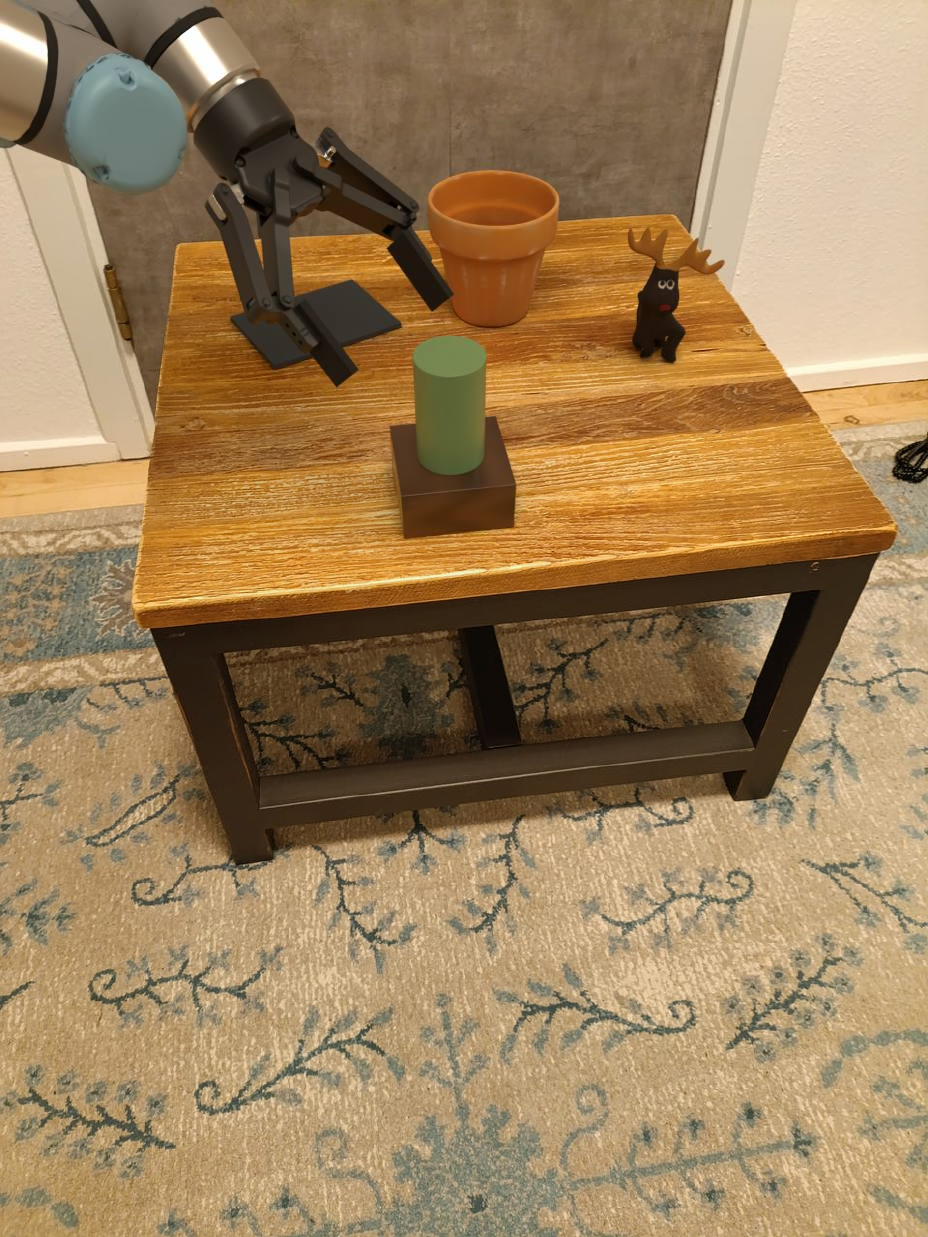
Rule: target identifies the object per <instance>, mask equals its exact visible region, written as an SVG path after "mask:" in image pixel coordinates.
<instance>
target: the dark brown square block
mask: <svg viewBox="0 0 928 1237" xmlns="http://www.w3.org/2000/svg"><path fill="white" fill-rule="evenodd" d="M389 439H390V452H391V453H390V454H391V464H392V465H391V466H392V474H393V479H394V486H395V491H396V497H397V504H398V511H399V517H400V522H401V528H402V535H403V539H414V538H422V537H423V538H424V537H431V536H433V537H434V536H440V535H441V536H443V535H450V534H451V535H452V534H460V533H471V532H480V531H488V530H496V529H497V530H498V529H508V528H514V527H515V515H516V498H517V482H516V479H515V476H514V472H513V468H512V466H511V462H510V459H509V455H508V452H507V449H506V445H505V441H504V438H503V435H502V431H501V429H500V425H499V421H498V418H497V416H496V415H491V416H485V448H484V458H483V461H482V462H481V464H480V465H479V466H478V467H477V468H475V469H474V470H472V471H470V472H467V473H464V474H460V475H441V474H437V473H434V472H431V471H429V470H427V469H426V468H425V467H423V466H422V465H421V463H420V462H419V460H418V457H417V442H416V423H406V424H396V425H389Z"/></svg>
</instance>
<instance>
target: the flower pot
mask: <svg viewBox="0 0 928 1237" xmlns="http://www.w3.org/2000/svg"><path fill="white" fill-rule="evenodd" d="M560 202H561V200H560V197H559V193H558V192H557V190H556V189H555V188H554V187H553V186H552V185H551V184H549V183H548V182H546V181H545V180H543V179H542V178H541V179H540V178H538V177H535V176H533V175H529V174H526V173H521V172H516V171H509V170H497V169H495V170H494V169H493V170H492V169H491V170H490V169H489V170H488V169H487V170H475V171H467V172H463V173H462V172H461V173H459V174H455V175H452V176H449V177H447V178H444V179H442V180H441V181H439V182H438V183H436V184H435V185H434V186H433V187H431V189H430V191H429V193H428V195H427V218H428V219H427V220H428V230H429V234H430V237H431V239H432V241H433V242H434V243H435V244H436V245H437V246H438V248H439V252H440V256H441V260H442V265H443V270H444V273H445V277H446V281H447V282H446V283H447V285H448V286H449V287H450V289H451V290H452V292H453V293H454V295H453V296H452V297H450V299H451V302H452V307H453V311H454V313H455V314H456V316H457V317H458V318H460V319H461V320H462V321H464V322H466V323H468V324H471V325H474V326H479V327H496V328H497V327H505V326H509V325H512V324H515V323H517V322H519V321H521V320H522V319H523V318H525V317H526V315H527V314H528V312H529V308H530V305H531V302H532V299H533V295H534V291H535V288H536V285H537V281H538V278H539V275H540V274H539V273H540V270H541V267H542V263H543V261H544V260H543V259H544V256H545V252H546V249H547V248H548V247H549V246H550V245H551V244H552V243H553V241H554V240H555V238H556V234H557V230H558V221H559V212H560Z"/></svg>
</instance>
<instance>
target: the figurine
mask: <svg viewBox="0 0 928 1237" xmlns="http://www.w3.org/2000/svg"><path fill="white" fill-rule="evenodd" d="M668 232H669V231H668V229H665V230H663V231H662V232H661V233H660V234H659V235H657V237H656V238H655V239H654V240H652V234H651V233H652V232H651V228H650V227H646V228H645V229H644V231H643V232H642V235H641V237H640V239H639V241H637V242H636V240H635V235H634V231H633V227H629V229H628V232H627V245H628V246H629V248H630V250H631V251H633V252H634V253H637V254H639V255H642V256H646V257H648V258H650V259H652V260H653V261H654V262H655V263H654V265H653V267H652V270H651V273H650V275H649V277H648V279H647V281H646V283H645V284H644V285H643V288H642V290H640V291H638V293H637V300H638V301H637V309H636V314H635V318H636V326H635V330H634V332H633V334H632V338H631V343H632V346H633V347H634V348H635V349H638V350H641V349H642V350H641V352H640V354H639V358H641V359H649V358H651V357H652V356H653V355H654V354H655V351H656V349H661V350H660V356H661V358H662V359H663V360H665V361H667V362H670V363H675V362H676V361H677V356H676V355H677V349H678V348H679V346H680V343H681V342H682V340H683V339H684V338H685V336H686V333H687V332H686V329H685V327H684V326H683V325H682V324H681V323H680V322H679V321H678V320H677V319H676V317H675V316H674V314H673V313H674V312H675V311H676V310H677V309H678V306H679V302H680V289H679V276H680V269H681V268H682V267H689V268H690V269H692V270H694V271H696V272H697V273H700V274H702V275H706V276H707V275H713V274H715V273H717V272H719V270H721V269H722V268H723V267H724V265H725V263H726V262H725V261H726V260H725V259H720V260H718V261H715V263H713V264H710V265H706V264H705V263H706V262H707V260H708V259H709V257H710V256H711V254H712V249H710V248H709V249H708V248H707V249H704V250H702V251H699V252H697V249H698V248H697V247H698V244H699V241H700V240H699V239H700V238H699V237H696V238H694V240H693V241H692V242H691V244H690V245H689V246H688V247H687V249H686V250H685V251H684V252H683V253H682V254H681V255H680V256H679V258H677V259H676V260H674V261H673V262H671V263H666V264H665V262H664V258H663V253H664V250H665V246H666V242H667V239H668V236H669V235H668V234H669V233H668ZM696 252H697V253H696Z"/></svg>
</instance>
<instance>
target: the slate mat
mask: <svg viewBox="0 0 928 1237" xmlns="http://www.w3.org/2000/svg"><path fill="white" fill-rule="evenodd" d="M294 297H295V304H294V305H295V306H297V305H298V304H299V303H300V302H302V301H303V300H305V299H306V300H307V302H308V303H309V304H310V306H311V307H312V308H313V310H314V311H315V312H316V314H317V315H318V316H319V318H320V319H321V320H322V322H323V323H324V324H325V325H326V327H327V328H328V329H329V331H330V332H331V333H332V335H333V336H334V337H335V339H336V340H337V341H338V343H339V344H340V345H341V347H342V348H344V347H347V346H350V345H354V344H356V343H359V342H362V341H365V340H367V339H371V338H374V337H377V336H380V335H382V334H383V335H384V334H386V333H389V332H391V331H395V330H399V329H400V328H402V322H401V320H399V319H398V318H397V317H396V316H394V315H393V313H391V312H390V311H389V310H388V309H387V308H385V307H384V306H383V305H382V304H381V303H380V302H379V301H378V300H376V298H374V297H373V296H372V295H371V294H370V293H368V292H367V290H365V289H364V288H363V287H362V286H361V285H360V284H359V283H357V282H356V281H355V280H354V279H353V278H350V279H348V280H344V281H341V282H338V283H335V284H330V285H328V286H325V287H322V288H321V287H320V288H318V289H315V290H312V291H308V292H305V293H302V294H298V295H294ZM229 316H230V317H229V319H230V321H231V323H232V324H233V325H234V326H235V327H236V328H237V330H238V331H239V332H240V333H241V334H242V335H243V336H244V338H246V340H248V342H249V343H250V344H251V345H252V346H253V348H255V349H256V351H257V352H258V353H259V354H260V355H261V357H262V358H264V360H265V361H266V362H267V363H268V364H269V365H270V367H272V369H273V370H275V371H276V370H278V369H281V368H285V367H288V366H290V365H293V364H297V363H299V362H303V361H305V360H308V359H311V358H313V356H312V355H311V354H310V353H309V352H308V353H307V354H306V355H305V354H304V353H302V352H301V351H300V350H299V349H298V348H297V346H296V345H295V344H294V343H293V341H292V339H290V337H289V336H288V335H287V333H286V332H285V331H284V330H283V328H282V327H281V326H280V325H279V324H278V323H276V324H275V325H268V324H267V323H266V322H265V321H260V322H259V323H258V324H256V325H255V324H251V323H250V322H249V321H248V320H247V318H246V316H245V313H244V311H242V312H239V313H236V314H233V315H229Z"/></svg>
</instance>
